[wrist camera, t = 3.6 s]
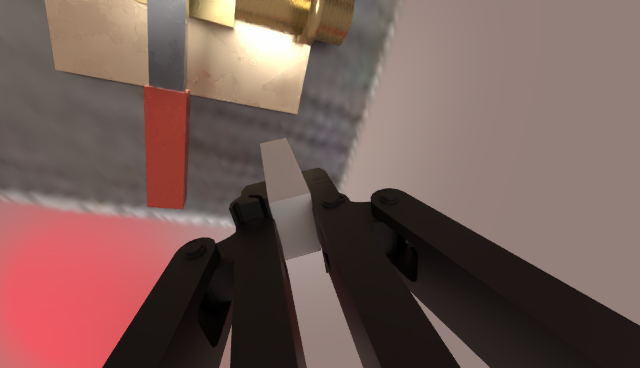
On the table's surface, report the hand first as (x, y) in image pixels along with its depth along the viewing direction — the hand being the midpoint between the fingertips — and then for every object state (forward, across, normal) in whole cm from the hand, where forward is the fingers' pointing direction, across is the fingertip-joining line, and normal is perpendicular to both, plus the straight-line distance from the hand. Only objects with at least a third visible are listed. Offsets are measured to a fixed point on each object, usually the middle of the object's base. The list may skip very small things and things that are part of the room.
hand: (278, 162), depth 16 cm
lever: (+5, -5, +5) cm, 9 cm away
